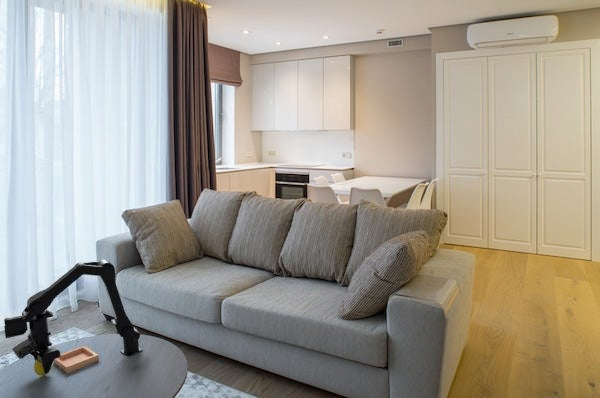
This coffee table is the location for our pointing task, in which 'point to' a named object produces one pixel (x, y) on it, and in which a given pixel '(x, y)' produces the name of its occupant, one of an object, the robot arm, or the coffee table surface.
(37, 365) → the lemon
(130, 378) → the coffee table surface
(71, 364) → the dish
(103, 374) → the coffee table surface
